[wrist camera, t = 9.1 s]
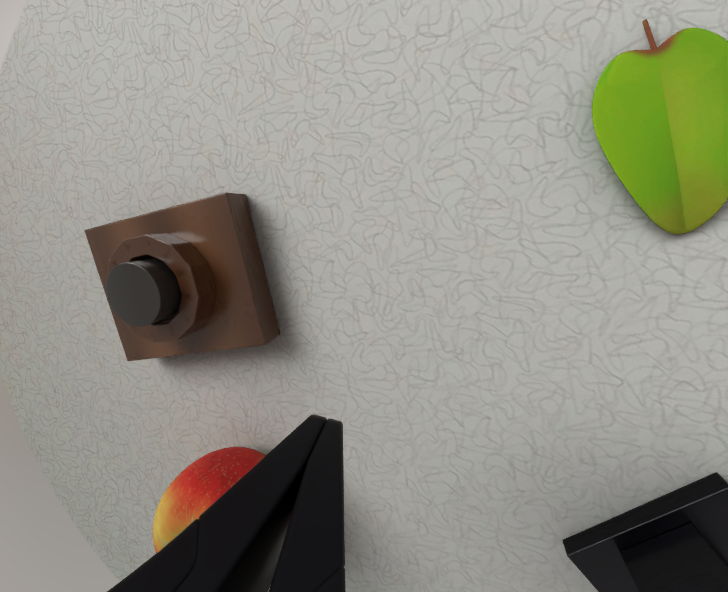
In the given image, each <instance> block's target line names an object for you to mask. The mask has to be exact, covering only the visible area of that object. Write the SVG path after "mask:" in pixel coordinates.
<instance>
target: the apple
mask: <svg viewBox="0 0 728 592" xmlns="http://www.w3.org/2000/svg"><path fill="white" fill-rule="evenodd" d="M264 457H265V455H264V454H262V453H260V452H258V451H255V450H253V449H249V448H244V447H230V448H224V449H220V450H217V451H214V452H211V453H209V454H207V455H205V456H203V457H202V458H200V459H198V460H196V461H195V462H193V463H192V464H191V465H189V466H188V467H187V468H186V469H185V470H183V471H182V472H181V473H180V474H179V475H178V476H177V477H176V478H175V479H174V481H173V482H172V483H171V484H170V486H169V487H168V489H167V490H166V492H165V493H164V494H163V496H162V498H161V500H160V503H159V505H158V507H157V509H156V514H155V518H154V522H153V540H154V546H155V550H156V553H158V552H159V551H160V550H161V549H162V548H164V547H165V546H166V545H167V544H168V543H169V542H170V541H172V540H173V539H174V538H175V537H176V536H177V535H179V534H180V533H181V532H182V531H183V530H184V529H185V528H186V527H188V526H189V525H190V524H191V523H192V522H193V521H194V520H195V519H199V516H200V515H201V514H202V513H203V512H204V511H205V510H207V509H208V508H209V507H210V506H211V505H212V504H213V503H214V502H215V501H217V500H218V499H219V498H220V497H221V496H222V495H223V494H224V493H225V492H226V491H228V490H229V489H230V488H231V487H232V486H233V485H234V484H235V483H236V482H238V481H239V480H240V479H241V478H242V477H243V476H244V475H245V474H246V473H248V472H249V471H250V470H251V469H252V468H253V467H254V466H255V465H256V464H257V463H259V462H260V461H261V460H262V459H263V458H264Z"/></svg>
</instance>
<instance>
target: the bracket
mask: <svg viewBox="0 0 728 592" xmlns="http://www.w3.org/2000/svg"><path fill="white" fill-rule="evenodd" d="M563 544H564V547H565V550H566V553H567V556H568V557H569V558H570V559H571V560H572V562H573V563H574V564H575V565H576V566H577V567H578V569H579V570H580V571H581V572H582V573H583V574H584V575H585V577H586V578H587V579H588V580H589V581H590V582H591V583H592V585H593V586H594V587H595V588H596V589H597V590H598V591H599V592H728V483H727V482H726V481H725V480H724V479H723V478H722V477H721V476H720V475H719V474H718V473H714V474H712V475H709V476H707V477H705V478H703V479H700V480H698V481H696V482H694V483H691V484H689V485H687V486H684V487H682V488H680V489H678V490H675V491H673V492H671V493H669V494H666V495H664V496H662V497H660V498H657V499H655V500H653V501H650V502H648V503H646V504H644V505H641V506H639V507H637V508H635V509H632V510H630V511H628V512H625V513H623V514H621V515H619V516H616V517H614V518H612V519H610V520H607V521H605V522H603V523H601V524H598V525H596V526H594V527H591V528H589V529H587V530H585V531H582V532H580V533H578V534H576V535H573V536H571V537H569V538H566V539H564V540H563Z"/></svg>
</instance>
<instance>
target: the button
mask: <svg viewBox="0 0 728 592" xmlns="http://www.w3.org/2000/svg"><path fill="white" fill-rule="evenodd" d="M106 293H107V298H108V301H109V304H110V306H111V308H112V309H113V311H114V312H115V314H116V315H117V316H118V317H119V318H120V319H121V320H123V321H124V322H125V323H127V324H129V325H132V326H136V327H144V326H147V325H150V324H153V323H156V322H158V321H161V320H164V319H167V318H169V317H171V316H172V315H174V314H175V313H176V311H177V310H178V308H179V306H180V303H181V290H180V287H179V284H178V280H177V277H176V275H175V274H174V272H173V271H172V270H171V269H170V268H169V267H168V266H167V265H166V264H164V263H162V262H160V261H158V260H154V259H146V260H139V261H132V262H125V263H121V264H118V265H117V266H115V267H114V268H113V269H112V270H111V271H110V273H109V275H108V278H107V282H106Z"/></svg>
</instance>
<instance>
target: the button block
mask: <svg viewBox="0 0 728 592" xmlns="http://www.w3.org/2000/svg"><path fill="white" fill-rule="evenodd" d="M85 233H86V236H87V239H88V242H89V245H90V248H91V251H92V254H93V257H94V260H95V263H96V266H97V270H98V273H99V276H100V279H101V282H102V285H103V288H104V291H105V294H106V297H107V293H106V282H107V278H108V275H109V273H110V271H111V270H112V269H113V268H114V267H115V266H117V265H118V264H121V263H125V262H132V261H139V260H146V259H154V260H158V261H160V262H162V263H164V264H166V265H167V266H168V267H169V268H170V269H171V270H172V271H173V272H174V274H175V275H176V277H177V280H178V284H179V287H180V290H181V303H180V306H179V308H178V310H177V311H176V313H175V314H174V315H172V316H171V317H169V318H167V319H164V320H161V321H158V322H156V323H153V324H150V325H147V326H144V327H136V326H132V325H129V324H127V323H125V322H124V321H123V320H121V319H120V318H119V317H118V316H117V315H116V314H115V312H114V311H113V309H112V308H111V306H110V304H109V306H110V309H111V312H112V315H113V318H114V321H115V324H116V327H117V330H118V333H119V336H120V339H121V342H122V345H123V348H124V351H125V354H126V357H127V360H128V361H134V360H142V359H150V358H159V357H167V356H175V355H184V354H192V353H200V352H209V351H217V350H225V349H234V348H242V347H250V346H259V345H265V344H267V343H268V342H270V341H271V340H273V339H274V338H276V337H277V336H279V335H280V331H279V327H278V323H277V319H276V315H275V311H274V307H273V303H272V299H271V294H270V290H269V286H268V282H267V278H266V274H265V270H264V266H263V262H262V258H261V254H260V250H259V246H258V242H257V238H256V234H255V230H254V226H253V222H252V218H251V214H250V210H249V206H248V202H247V198H246V195H245V194H235V193H222V194H219V195H215V196H211V197H207V198H203V199H200V200H196V201H192V202H188V203H185V204H181V205H177V206H173V207H170V208H166V209H162V210H158V211H155V212H151V213H147V214H143V215H140V216H136V217H132V218H128V219H125V220H121V221H117V222H113V223H109V224H106V225H102V226H98V227H94V228H91V229H87V230H85ZM107 300H108V298H107ZM108 303H109V301H108Z"/></svg>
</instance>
